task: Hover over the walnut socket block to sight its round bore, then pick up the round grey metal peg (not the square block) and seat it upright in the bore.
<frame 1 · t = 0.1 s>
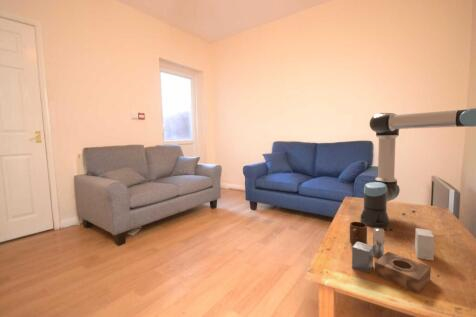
square block: (362, 267, 93), on the table
small box: (423, 255, 100), on the table
round peg: (378, 255, 101), on the table
socket block: (401, 276, 86), on the table
mug: (356, 244, 112), on the table
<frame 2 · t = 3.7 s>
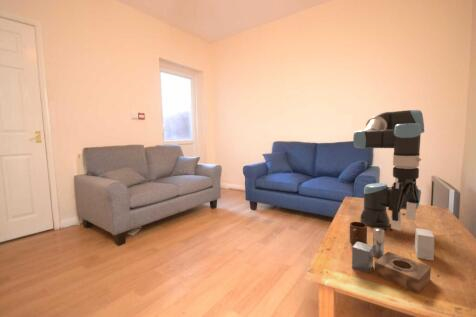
hand: (403, 224, 84), 21 cm above the table, fingers open, 13 cm apart
nothing on the table moved.
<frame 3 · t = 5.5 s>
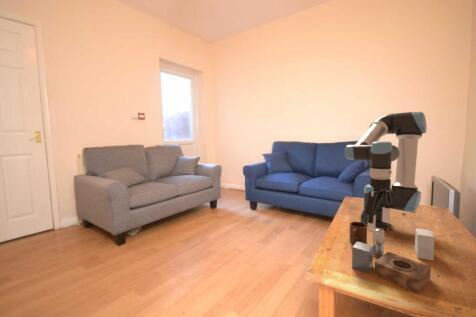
hand: (378, 226, 100), 14 cm above the table, fingers open, 13 cm apart
nothing on the table moved.
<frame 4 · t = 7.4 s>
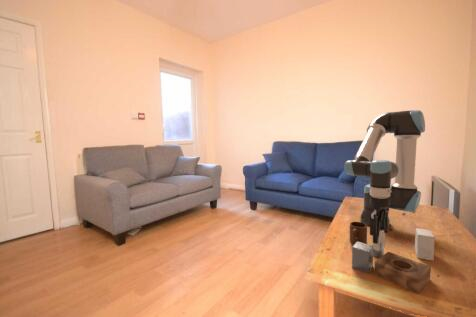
hand: (378, 247, 101), 4 cm above the table, fingers closed on round peg, 4 cm apart
round peg: (378, 255, 101), on the table, touching gripper
everything else where it was.
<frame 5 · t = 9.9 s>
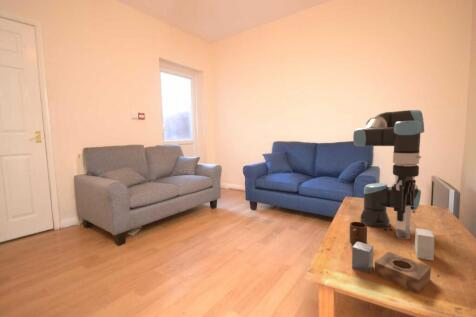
hand: (403, 227, 84), 20 cm above the table, fingers closed on round peg, 4 cm apart
round peg: (402, 236, 85), point 16 cm above the table, touching gripper
everything else where it was.
when the fingers open (7 cm above the table, at t = 12.5 s): round peg drops 3 cm, resting in socket block.
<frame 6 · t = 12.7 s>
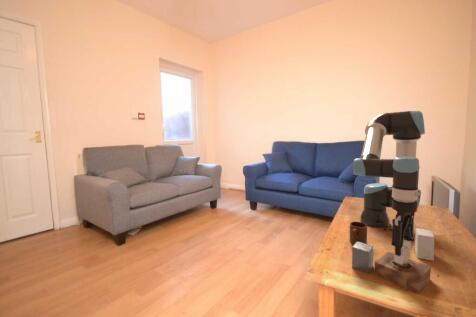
hand: (402, 259, 86), 7 cm above the table, fingers open, 6 cm apart
round peg: (401, 276, 86), resting in socket block, touching gripper
everything else where it was.
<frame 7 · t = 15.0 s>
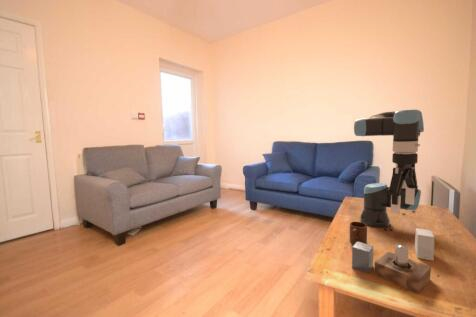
hand: (402, 208, 87), 26 cm above the table, fingers open, 13 cm apart
round peg: (401, 276, 86), resting in socket block
everything else where it was.
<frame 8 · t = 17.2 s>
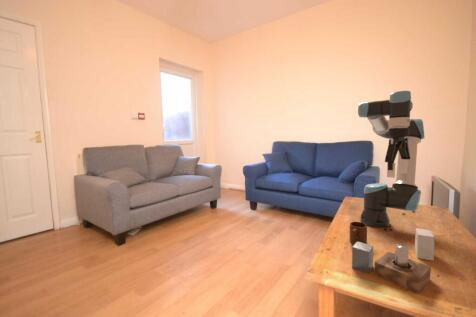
hand: (397, 175, 103), 35 cm above the table, fingers open, 13 cm apart
nothing on the table moved.
at the end: round peg 0.1 cm off-centre in the socket block, point 0.0 cm above the socket block's base; round peg tilted 1°; the gripper is holding nothing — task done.
